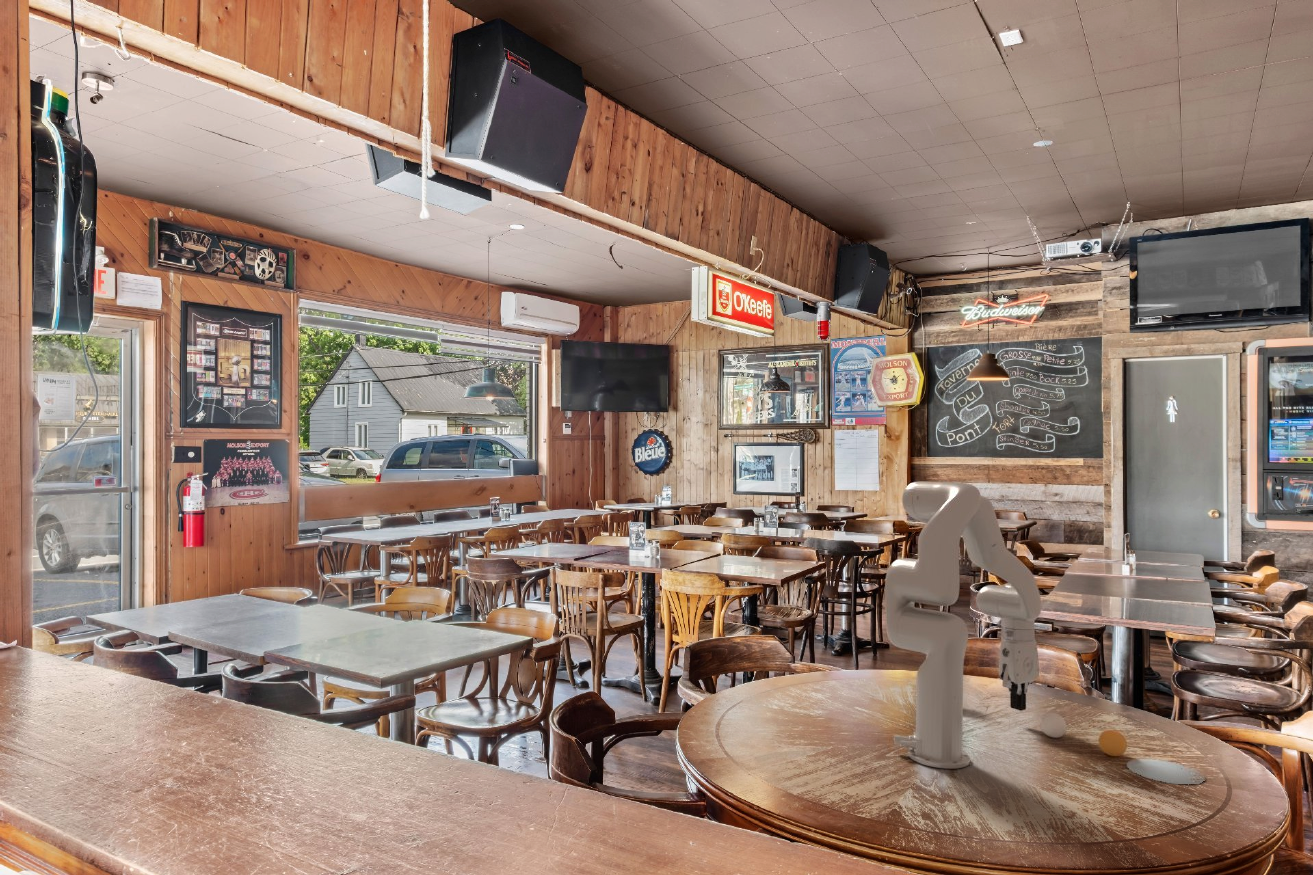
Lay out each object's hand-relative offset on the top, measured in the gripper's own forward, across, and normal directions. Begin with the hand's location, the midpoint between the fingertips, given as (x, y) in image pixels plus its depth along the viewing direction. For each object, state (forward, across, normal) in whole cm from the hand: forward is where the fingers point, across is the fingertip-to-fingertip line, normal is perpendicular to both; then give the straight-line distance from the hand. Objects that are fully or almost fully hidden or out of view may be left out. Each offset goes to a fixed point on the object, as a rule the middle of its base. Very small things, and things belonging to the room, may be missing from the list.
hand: (1018, 708), depth 202 cm
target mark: (+4, -1, -35) cm, 35 cm away
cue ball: (+1, -1, -10) cm, 10 cm away
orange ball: (+1, -1, -24) cm, 24 cm away
